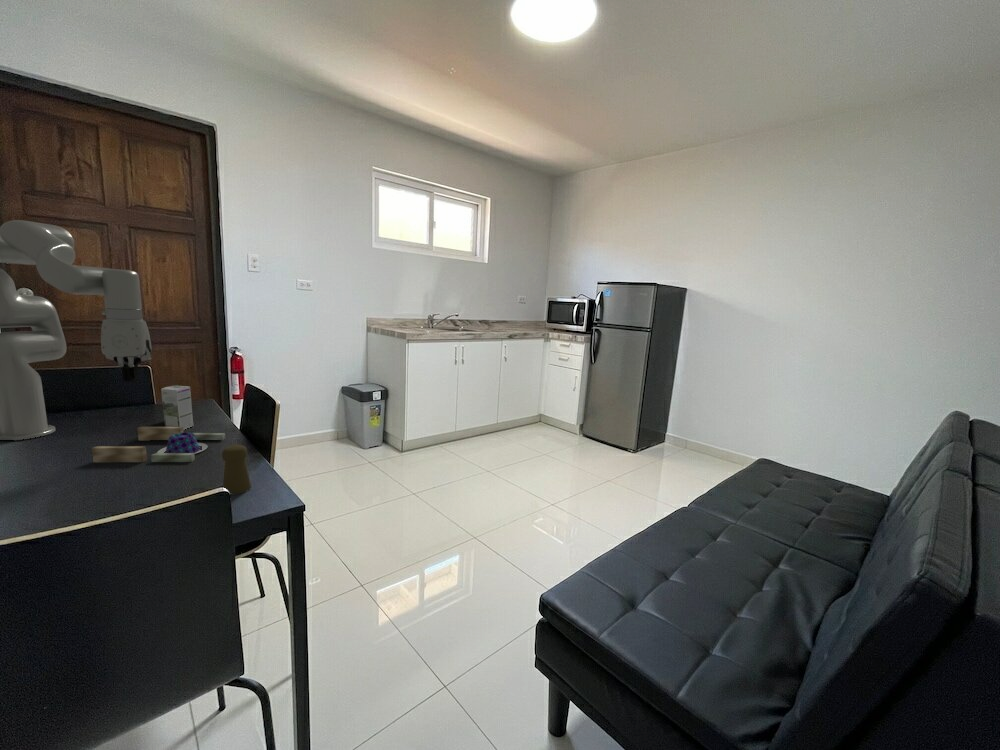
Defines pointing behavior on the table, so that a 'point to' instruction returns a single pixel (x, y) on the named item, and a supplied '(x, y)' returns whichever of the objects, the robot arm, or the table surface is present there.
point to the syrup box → (177, 406)
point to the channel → (140, 451)
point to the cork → (235, 469)
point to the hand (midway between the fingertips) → (130, 379)
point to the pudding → (183, 444)
